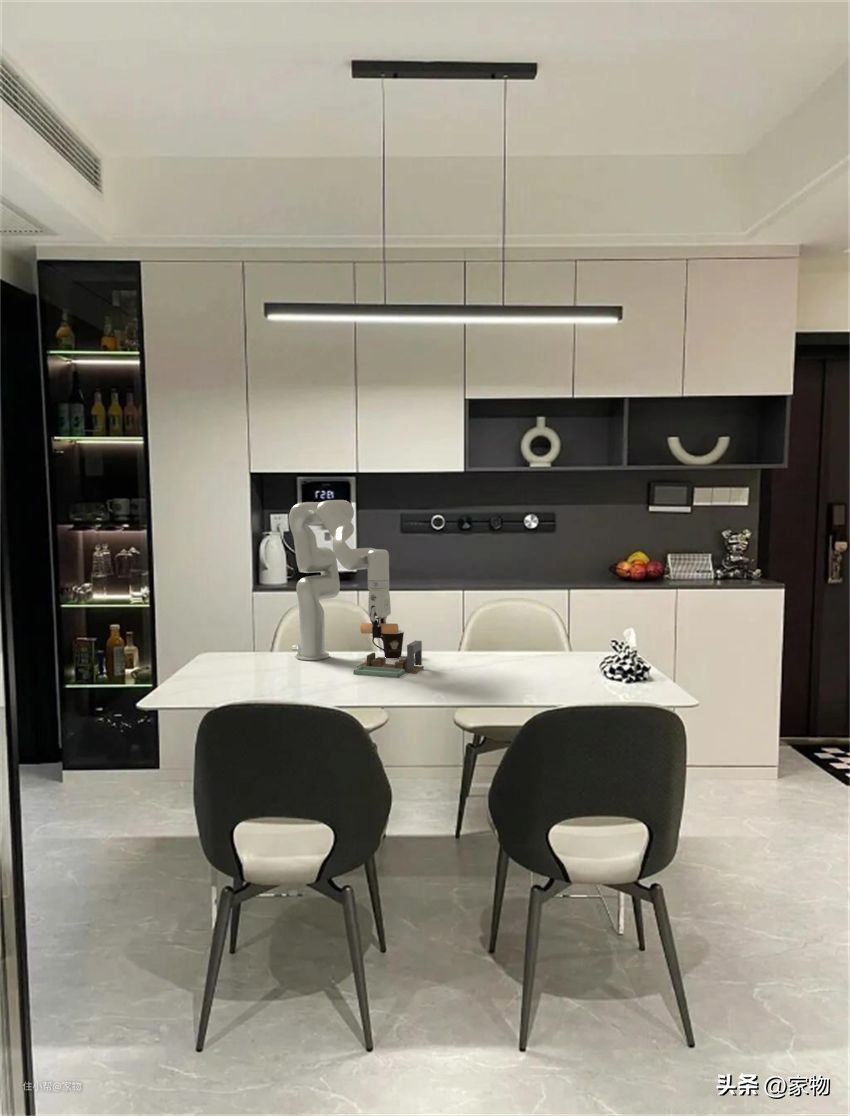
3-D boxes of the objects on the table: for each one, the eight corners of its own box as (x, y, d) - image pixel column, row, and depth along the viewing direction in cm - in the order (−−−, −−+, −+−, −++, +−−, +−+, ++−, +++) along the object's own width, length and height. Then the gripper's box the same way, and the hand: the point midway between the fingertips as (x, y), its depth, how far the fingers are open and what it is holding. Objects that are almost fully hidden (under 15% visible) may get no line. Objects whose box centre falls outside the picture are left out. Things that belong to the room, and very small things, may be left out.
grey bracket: (407, 669, 277) (407, 645, 276) (415, 664, 285) (415, 640, 284) (413, 670, 276) (413, 645, 275) (421, 665, 284) (421, 640, 283)
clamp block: (357, 669, 284) (356, 655, 283) (365, 664, 291) (364, 651, 290) (416, 673, 276) (416, 659, 276) (423, 669, 283) (423, 655, 283)
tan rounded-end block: (360, 634, 275) (360, 624, 275) (364, 632, 279) (364, 622, 278) (395, 634, 271) (394, 624, 271) (398, 633, 274) (398, 622, 274)
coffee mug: (406, 655, 307) (406, 630, 306) (400, 659, 299) (400, 634, 298) (378, 653, 310) (378, 628, 309) (371, 658, 302) (371, 632, 301)
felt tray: (353, 674, 276) (353, 669, 276) (360, 670, 282) (360, 665, 282) (398, 677, 270) (398, 673, 270) (405, 673, 277) (405, 669, 276)
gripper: (379, 588, 264) (380, 641, 266) (397, 582, 280) (397, 633, 282) (359, 587, 267) (359, 640, 268) (377, 581, 282) (378, 632, 284)
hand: (379, 636), depth 275 cm, fingers closed on tan rounded-end block, 3 cm apart
